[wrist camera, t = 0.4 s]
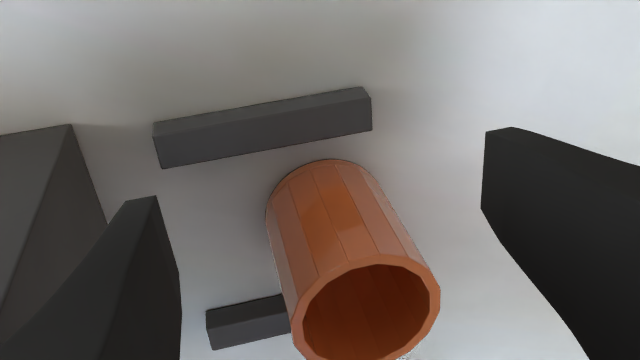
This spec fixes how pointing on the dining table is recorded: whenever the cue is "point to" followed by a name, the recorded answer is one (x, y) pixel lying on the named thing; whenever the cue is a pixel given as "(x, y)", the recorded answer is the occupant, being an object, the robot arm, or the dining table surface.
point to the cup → (347, 266)
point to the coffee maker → (173, 150)
